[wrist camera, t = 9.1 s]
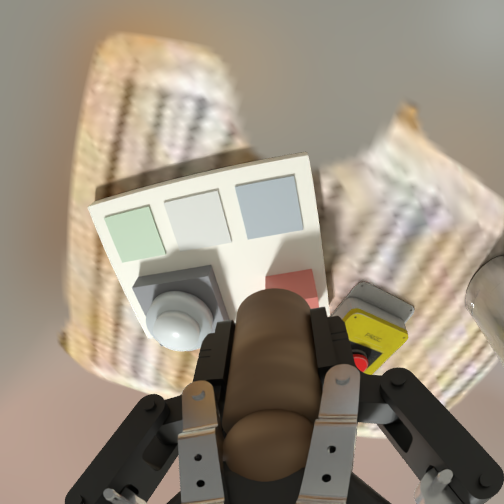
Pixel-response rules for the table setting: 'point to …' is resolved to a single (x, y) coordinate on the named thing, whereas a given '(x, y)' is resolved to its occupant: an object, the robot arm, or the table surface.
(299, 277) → the die
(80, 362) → the table surface
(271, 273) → the board
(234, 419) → the pawn
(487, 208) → the table surface
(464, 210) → the table surface
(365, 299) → the emergency button
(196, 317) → the dome
